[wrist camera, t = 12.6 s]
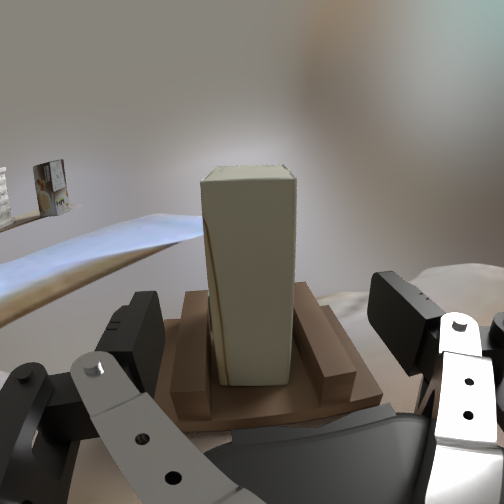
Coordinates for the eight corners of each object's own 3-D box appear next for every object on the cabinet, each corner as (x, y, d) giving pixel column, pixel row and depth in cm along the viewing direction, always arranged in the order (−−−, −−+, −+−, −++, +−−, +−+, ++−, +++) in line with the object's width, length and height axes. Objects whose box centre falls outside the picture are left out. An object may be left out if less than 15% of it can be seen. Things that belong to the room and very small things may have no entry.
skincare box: (227, 331, 23) (213, 166, 19) (286, 329, 23) (285, 163, 19) (219, 389, 17) (194, 179, 13) (293, 388, 17) (298, 174, 13)
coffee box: (71, 210, 82) (64, 158, 76) (57, 216, 76) (50, 161, 70) (52, 212, 83) (46, 162, 78) (39, 217, 78) (31, 166, 72)
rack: (327, 314, 26) (330, 279, 25) (379, 404, 16) (392, 362, 15) (166, 329, 25) (158, 293, 24) (146, 431, 15) (128, 391, 14)
